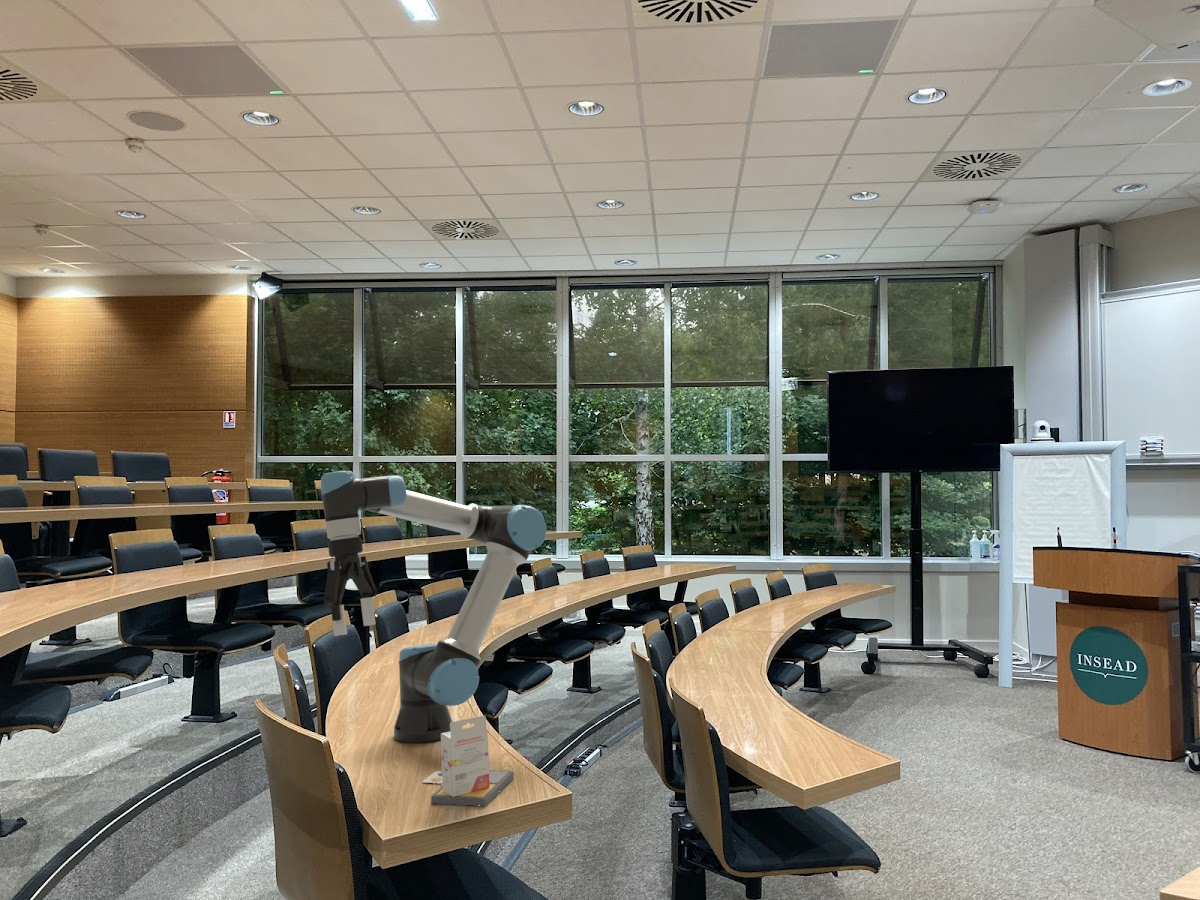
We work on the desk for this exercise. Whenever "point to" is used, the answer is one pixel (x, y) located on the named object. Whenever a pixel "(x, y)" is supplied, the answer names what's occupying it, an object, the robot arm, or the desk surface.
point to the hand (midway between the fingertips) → (355, 630)
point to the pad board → (477, 797)
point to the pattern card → (434, 778)
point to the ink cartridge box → (465, 757)
